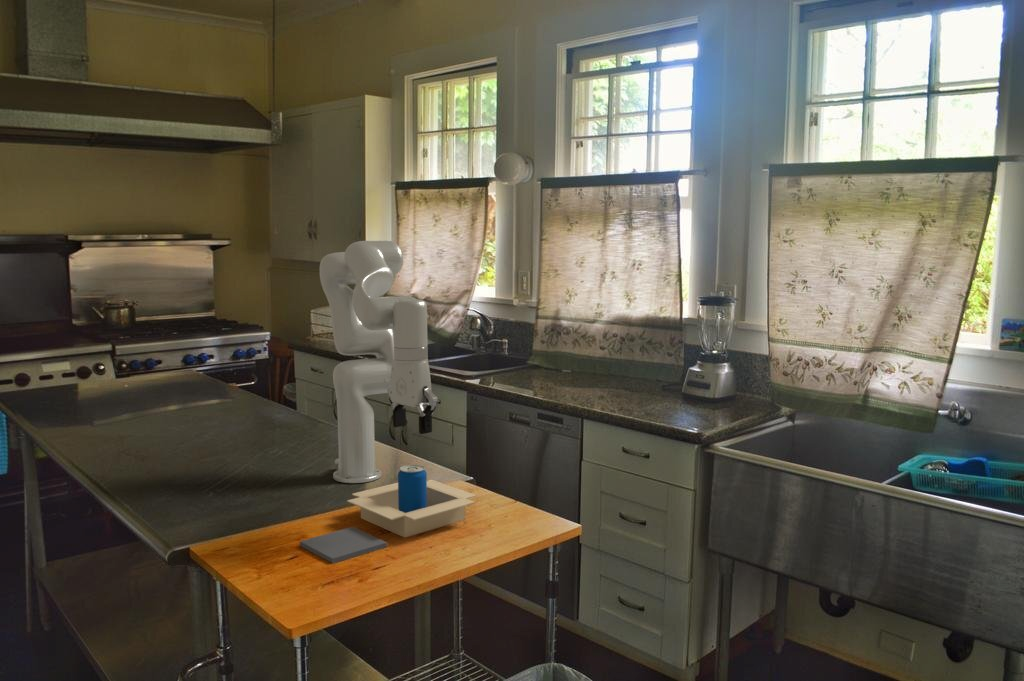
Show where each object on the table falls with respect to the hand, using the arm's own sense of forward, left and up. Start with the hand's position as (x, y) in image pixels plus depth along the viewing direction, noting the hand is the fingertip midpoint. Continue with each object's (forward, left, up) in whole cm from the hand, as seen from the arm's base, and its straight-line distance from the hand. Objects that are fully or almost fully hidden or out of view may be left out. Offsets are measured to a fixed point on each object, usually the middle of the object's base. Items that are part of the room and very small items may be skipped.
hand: (412, 429), depth 194 cm
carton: (0, 0, -21) cm, 21 cm away
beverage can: (0, 0, -21) cm, 21 cm away
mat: (+4, -21, -21) cm, 30 cm away
